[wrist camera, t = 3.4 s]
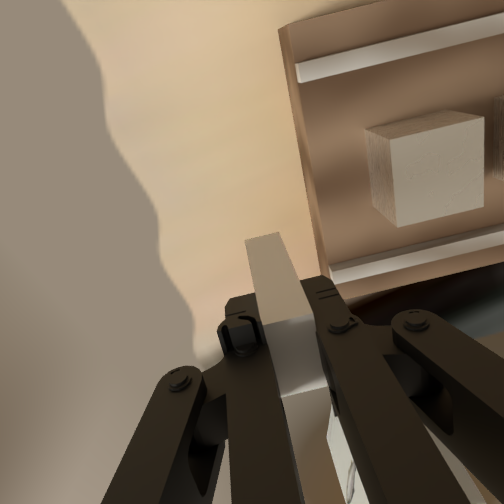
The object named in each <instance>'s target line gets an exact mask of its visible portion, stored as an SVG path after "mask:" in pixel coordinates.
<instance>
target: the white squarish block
mask: <svg viewBox="0 0 504 504" xmlns="http://www.w3.org/2000/svg"><path fill="white" fill-rule="evenodd" d="M365 139H366V148H367V157H368V166H369V175H370V184H371V194H372V203H373V207H374V208H376V209H377V210H378V211H379V212H380V213H381V214H382V215H383V216H385V217H386V218H387V219H388V220H389V221H390V222H391V223H393V224H394V225H395V226H396V227H397V228H398V227H402V226H406V225H410V224H415V223H419V222H423V221H427V220H431V219H435V218H439V217H444V216H448V215H452V214H456V213H460V212H464V211H468V210H473V209H477V208H481V207H484V117H482V116H477V115H472V114H467V113H461V112H456V111H451V110H446V109H445V110H441V111H437V112H433V113H429V114H425V115H421V116H416V117H412V118H408V119H404V120H400V121H396V122H392V123H388V124H384V125H380V126H376V127H372V128H367V129H365Z"/></svg>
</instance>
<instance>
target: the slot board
mask: <svg viewBox="0 0 504 504" xmlns="http://www.w3.org/2000/svg"><path fill="white" fill-rule="evenodd" d="M278 33H279V39H280V45H281V50H282V56H283V62H284V67H285V73H286V79H287V84H288V90H289V96H290V101H291V107H292V113H293V118H294V124H295V130H296V135H297V141H298V147H299V152H300V158H301V164H302V169H303V175H304V181H305V186H306V192H307V198H308V204H309V209H310V215H311V221H312V226H313V232H314V238H315V243H316V249H317V255H318V260H319V266H320V272H321V275H324V276H325V277H327V278H329V279H331V280H332V281H333V283H334V285H335V286H336V289H337V290H338V292H339V293H340V295H341V297H342V298H343V300H344V299H349V298H353V297H357V296H361V295H365V294H370V293H374V292H378V291H382V290H386V289H390V288H395V287H399V286H403V285H407V284H411V283H415V282H420V281H424V280H428V279H432V278H436V277H441V276H445V275H449V274H453V273H457V272H461V271H466V270H470V269H474V268H478V267H482V266H486V265H491V264H495V263H499V262H503V261H504V181H501V180H499V179H496V178H494V177H493V141H494V97H498V96H502V95H504V0H384V1H380V2H375V3H371V4H367V5H363V6H359V7H355V8H351V9H347V10H343V11H339V12H335V13H331V14H327V15H323V16H319V17H315V18H311V19H307V20H303V21H299V22H295V23H291V24H288V25H286V26H284V27H282V28H280V29H278ZM445 109H446V110H451V111H456V112H461V113H467V114H472V115H477V116H482V117H484V207H481V208H477V209H473V210H468V211H464V212H460V213H456V214H452V215H448V216H444V217H439V218H435V219H431V220H427V221H423V222H419V223H415V224H410V225H406V226H402V227H398V228H397V227H396V226H395V225H394V224H393V223H391V222H390V221H389V220H388V219H387V218H386V217H385V216H383V215H382V214H381V213H380V212H379V211H378V210H377V209H376V208H374V207H373V203H372V194H371V184H370V175H369V166H368V157H367V148H366V139H365V129H367V128H372V127H376V126H380V125H384V124H388V123H392V122H396V121H400V120H404V119H408V118H412V117H416V116H421V115H425V114H429V113H433V112H437V111H441V110H445Z"/></svg>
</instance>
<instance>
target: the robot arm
mask: <svg viewBox="0 0 504 504" xmlns="http://www.w3.org/2000/svg"><path fill="white" fill-rule="evenodd" d="M245 245H246V250H247V255H248V260H249V265H250V269H251V274H252V279H253V284H254V289H255V293H251V294H247V295H243V296H238V297H234V298H230V299H229V301H228V302H227V304H226V306H225V316H226V317H225V320H224V321H223V322H222V323H221V324H220V325H219V326H218V329H217V334H218V337H219V340H220V344H221V347H222V350H223V353H224V358H223V359H222V360H221V361H220V362H219V363H218V364H216V365H215V366H213V367H211V368H210V369H208V370H206V371H204V372H202V373H201V371H200V370H199V369H198V368H196V367H194V366H182V367H178V368H176V369H173V370H171V371H169V372H168V373H167V374H165V375H164V376H163V377H162V378H161V380H160V381H159V382H158V384H157V386H156V388H155V390H154V392H153V394H152V397H151V399H150V401H149V403H148V405H147V407H146V409H145V411H144V414H143V416H142V418H141V420H140V422H139V424H138V426H137V428H136V431H135V433H134V435H133V437H132V439H131V441H130V443H129V445H128V447H127V449H126V451H125V454H124V456H123V458H122V460H121V462H120V464H119V466H118V468H117V470H116V473H115V475H114V477H113V479H112V481H111V483H110V485H109V488H108V489H107V492H106V494H105V496H104V498H103V500H102V502H101V504H212V501H213V497H214V492H215V488H216V484H217V479H218V475H219V471H220V466H221V462H222V458H223V453H224V449H225V440H226V439H228V442H229V460H230V480H231V498H232V504H305V501H304V496H303V492H302V487H301V483H300V478H299V474H298V469H297V465H296V461H295V456H294V451H293V447H292V443H291V438H290V433H289V429H288V424H287V420H286V415H285V411H284V407H283V403H282V399H281V397H284V396H288V395H293V394H297V393H301V392H305V391H309V390H313V389H318V388H322V387H325V386H327V382H328V385H329V390H330V396H331V401H332V406H333V411H334V416H335V417H337V416H338V419H339V422H340V424H341V427H342V430H343V433H344V435H345V438H346V441H347V444H348V446H349V449H350V452H351V455H352V457H353V460H354V463H355V466H356V468H357V471H358V474H359V477H360V479H361V482H362V485H363V488H364V490H365V493H366V496H367V499H368V501H369V504H471V503H470V501H469V499H468V498H467V496H466V494H465V492H464V491H463V489H462V487H461V486H460V484H459V482H458V481H457V479H456V477H455V476H454V474H453V472H452V471H451V469H450V467H449V466H448V464H447V462H446V461H445V459H444V457H443V456H442V454H441V452H440V451H439V449H438V447H437V446H436V444H435V442H434V441H433V439H432V437H431V436H430V434H429V432H428V431H427V429H426V427H427V428H428V429H429V430H430V431H431V432H432V433H433V434H434V435H435V436H436V437H437V438H438V439H439V440H440V441H441V442H442V443H443V444H444V445H445V446H446V447H447V448H448V449H449V450H450V451H451V452H452V453H453V454H454V455H455V456H456V457H457V458H458V460H459V461H460V462H461V463H462V464H463V465H464V466H465V467H466V468H467V469H468V470H469V471H470V472H471V473H472V474H473V475H474V476H475V477H476V478H477V479H478V480H479V481H480V482H481V483H482V484H483V485H484V486H485V487H486V488H487V489H488V490H489V491H490V492H491V493H492V494H493V495H494V496H495V497H496V498H497V499H498V500H499V501H500V502H501V503H502V504H504V359H503V358H501V357H500V356H498V355H497V354H495V353H494V352H492V351H491V350H489V349H488V348H486V347H484V346H483V345H482V344H480V343H478V342H477V341H475V340H474V339H472V338H471V337H469V336H468V335H466V334H465V333H463V332H462V331H460V330H459V329H457V328H456V327H454V326H452V325H451V324H449V323H448V322H446V321H445V320H443V319H442V318H440V317H439V316H437V315H436V314H433V313H431V312H429V311H425V310H407V311H403V312H400V313H399V314H397V315H395V316H394V318H393V319H392V321H391V324H392V326H371V325H366V324H363V322H362V320H361V319H360V318H358V317H357V316H355V315H352V314H351V312H350V311H349V309H348V307H347V305H346V304H345V302H344V300H343V298H342V297H341V295H340V293H339V292H338V290H337V289H336V286H335V285H334V283H333V281H332V280H331V279H329V278H327V277H325V276H324V275H320V276H316V277H312V278H308V279H304V280H300V281H299V278H298V276H297V274H296V271H295V269H294V267H293V264H292V262H291V260H290V257H289V255H288V252H287V250H286V248H285V245H284V243H283V241H282V238H281V236H280V234H279V232H276V233H272V234H268V235H264V236H260V237H256V238H251V239H247V240H245ZM326 380H327V382H326ZM424 425H425V426H426V427H425V426H424Z"/></svg>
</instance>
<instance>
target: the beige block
mask: <svg viewBox="0 0 504 504" xmlns="http://www.w3.org/2000/svg"><path fill="white" fill-rule="evenodd" d="M493 177H494V178H496V179H499V180H501V181H504V95H502V96H498V97H494V141H493Z"/></svg>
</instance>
